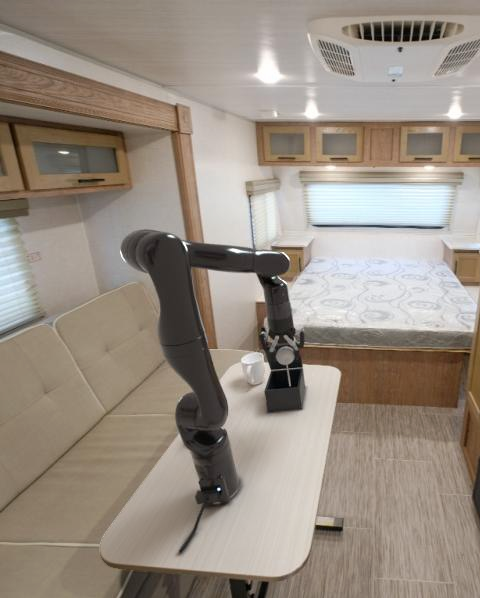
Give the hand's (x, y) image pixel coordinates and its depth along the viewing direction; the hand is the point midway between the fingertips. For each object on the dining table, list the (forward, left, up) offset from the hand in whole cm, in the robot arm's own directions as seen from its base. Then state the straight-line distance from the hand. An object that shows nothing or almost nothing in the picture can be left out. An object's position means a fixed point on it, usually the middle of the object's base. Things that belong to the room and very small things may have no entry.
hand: (286, 359), depth 112 cm
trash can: (+15, +5, -28) cm, 32 cm away
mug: (+28, +20, -28) cm, 45 cm away
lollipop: (0, 0, -11) cm, 11 cm away
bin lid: (+20, +5, -11) cm, 23 cm away
